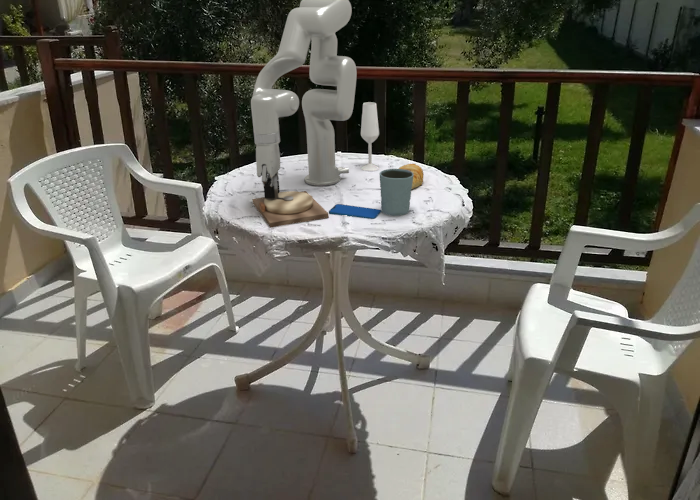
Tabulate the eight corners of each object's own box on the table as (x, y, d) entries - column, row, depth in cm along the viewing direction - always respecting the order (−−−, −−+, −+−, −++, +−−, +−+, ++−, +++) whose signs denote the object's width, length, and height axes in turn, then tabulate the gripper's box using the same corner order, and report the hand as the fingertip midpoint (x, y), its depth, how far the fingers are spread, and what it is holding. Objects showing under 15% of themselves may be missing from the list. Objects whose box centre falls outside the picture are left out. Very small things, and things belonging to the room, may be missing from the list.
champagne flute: (360, 166, 224) (359, 102, 214) (377, 165, 225) (377, 101, 215) (362, 171, 218) (361, 105, 208) (380, 170, 219) (380, 105, 209)
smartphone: (374, 218, 176) (327, 211, 180) (374, 221, 176) (327, 214, 181) (382, 209, 182) (336, 203, 187) (381, 212, 182) (336, 206, 187)
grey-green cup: (373, 208, 184) (373, 171, 179) (400, 202, 188) (401, 166, 183) (391, 219, 176) (391, 180, 171) (419, 212, 180) (420, 174, 175)
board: (306, 195, 196) (305, 185, 195) (328, 217, 178) (328, 207, 176) (252, 203, 190) (251, 193, 189) (270, 227, 172) (269, 216, 170)
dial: (319, 198, 188) (318, 171, 184) (303, 215, 175) (301, 187, 171) (275, 195, 192) (273, 168, 188) (256, 211, 179) (254, 183, 175)
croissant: (411, 203, 197) (422, 184, 193) (385, 188, 197) (396, 169, 193) (421, 182, 215) (432, 164, 211) (397, 168, 215) (408, 150, 211)
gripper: (263, 130, 183) (268, 185, 191) (245, 145, 169) (252, 204, 177) (286, 130, 182) (290, 186, 190) (271, 145, 167) (276, 205, 175)
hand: (272, 194), depth 183 cm, fingers closed on dial, 4 cm apart
